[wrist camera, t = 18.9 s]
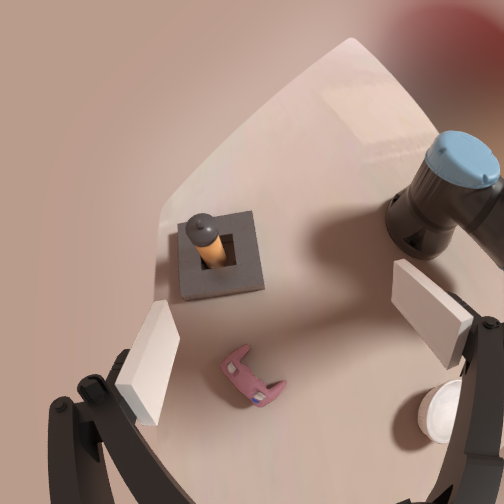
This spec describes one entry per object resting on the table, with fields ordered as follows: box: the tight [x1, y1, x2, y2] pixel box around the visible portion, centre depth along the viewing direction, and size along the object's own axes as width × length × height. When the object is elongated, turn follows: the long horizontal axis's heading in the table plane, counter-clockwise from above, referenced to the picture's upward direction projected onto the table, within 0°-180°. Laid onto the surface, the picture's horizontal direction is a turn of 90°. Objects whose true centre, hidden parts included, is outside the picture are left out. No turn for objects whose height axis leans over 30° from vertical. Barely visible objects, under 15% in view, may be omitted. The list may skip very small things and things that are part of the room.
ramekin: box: [418, 380, 462, 444], centre depth 34 cm, size 11×11×5 cm
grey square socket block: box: [178, 211, 265, 301], centre depth 50 cm, size 14×14×3 cm
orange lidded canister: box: [185, 213, 227, 269], centre depth 46 cm, size 5×5×14 cm
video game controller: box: [220, 344, 287, 407], centre depth 40 cm, size 10×5×7 cm, turn 44°
